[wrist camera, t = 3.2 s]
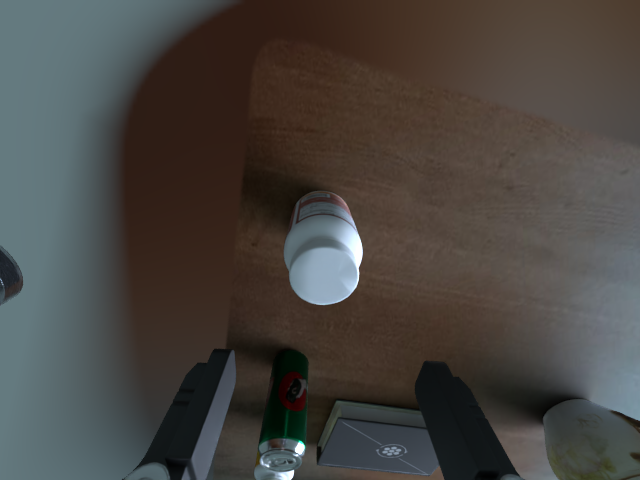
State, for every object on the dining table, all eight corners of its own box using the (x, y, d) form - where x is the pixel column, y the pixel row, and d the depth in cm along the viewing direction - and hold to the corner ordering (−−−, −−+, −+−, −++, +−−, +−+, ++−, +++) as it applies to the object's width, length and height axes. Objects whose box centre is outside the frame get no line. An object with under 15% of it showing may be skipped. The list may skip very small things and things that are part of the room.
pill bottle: (323, 253, 28) (327, 327, 18) (280, 221, 26) (258, 283, 17) (362, 214, 26) (390, 273, 16) (317, 176, 24) (318, 217, 14)
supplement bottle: (257, 416, 42) (241, 499, 33) (276, 400, 40) (265, 483, 31) (284, 427, 44) (276, 509, 35) (303, 412, 42) (300, 495, 33)
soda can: (269, 350, 35) (248, 452, 24) (304, 344, 35) (299, 446, 24) (278, 373, 37) (263, 476, 27) (311, 368, 37) (310, 471, 26)
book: (316, 445, 47) (316, 466, 44) (336, 398, 40) (337, 418, 38) (423, 457, 49) (429, 477, 46) (458, 414, 43) (467, 434, 40)
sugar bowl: (557, 373, 38) (687, 511, 25) (646, 378, 39) (820, 515, 26) (503, 441, 47) (577, 571, 34) (577, 444, 48) (679, 572, 34)
